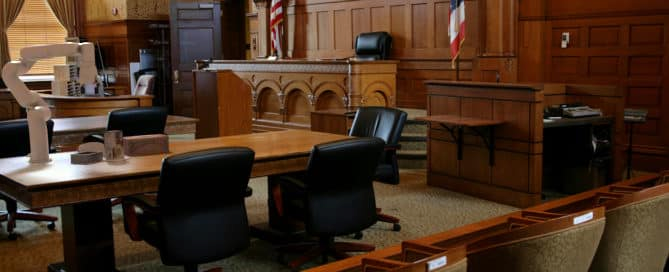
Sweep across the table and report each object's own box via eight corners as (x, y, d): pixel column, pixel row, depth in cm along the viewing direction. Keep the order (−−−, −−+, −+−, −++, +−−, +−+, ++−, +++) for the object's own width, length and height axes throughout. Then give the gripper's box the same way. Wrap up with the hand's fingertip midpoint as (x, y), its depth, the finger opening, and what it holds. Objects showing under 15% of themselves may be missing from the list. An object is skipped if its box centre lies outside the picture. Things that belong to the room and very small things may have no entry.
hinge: (81, 159, 413) (77, 142, 414) (78, 161, 416) (75, 144, 418) (108, 155, 424) (104, 140, 425) (105, 157, 428) (101, 142, 429)
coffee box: (116, 157, 413) (115, 130, 411) (124, 157, 410) (123, 130, 408) (104, 159, 405) (103, 131, 403) (112, 160, 402) (111, 132, 400)
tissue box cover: (160, 149, 451) (160, 134, 450) (169, 151, 440) (168, 136, 438) (121, 153, 437) (120, 137, 436) (128, 155, 425) (127, 139, 424)
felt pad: (100, 160, 404) (100, 159, 404) (113, 157, 415) (113, 156, 415) (117, 161, 400) (117, 160, 400) (130, 158, 411) (130, 157, 411)
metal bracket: (70, 163, 398) (70, 154, 397) (87, 159, 411) (86, 151, 410) (86, 163, 394) (86, 154, 393) (103, 160, 407) (102, 151, 406)
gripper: (71, 64, 402) (73, 94, 404) (96, 64, 396) (98, 94, 398) (80, 64, 409) (82, 93, 411) (104, 64, 403) (106, 93, 405)
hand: (89, 94), depth 405 cm, fingers open, 9 cm apart
